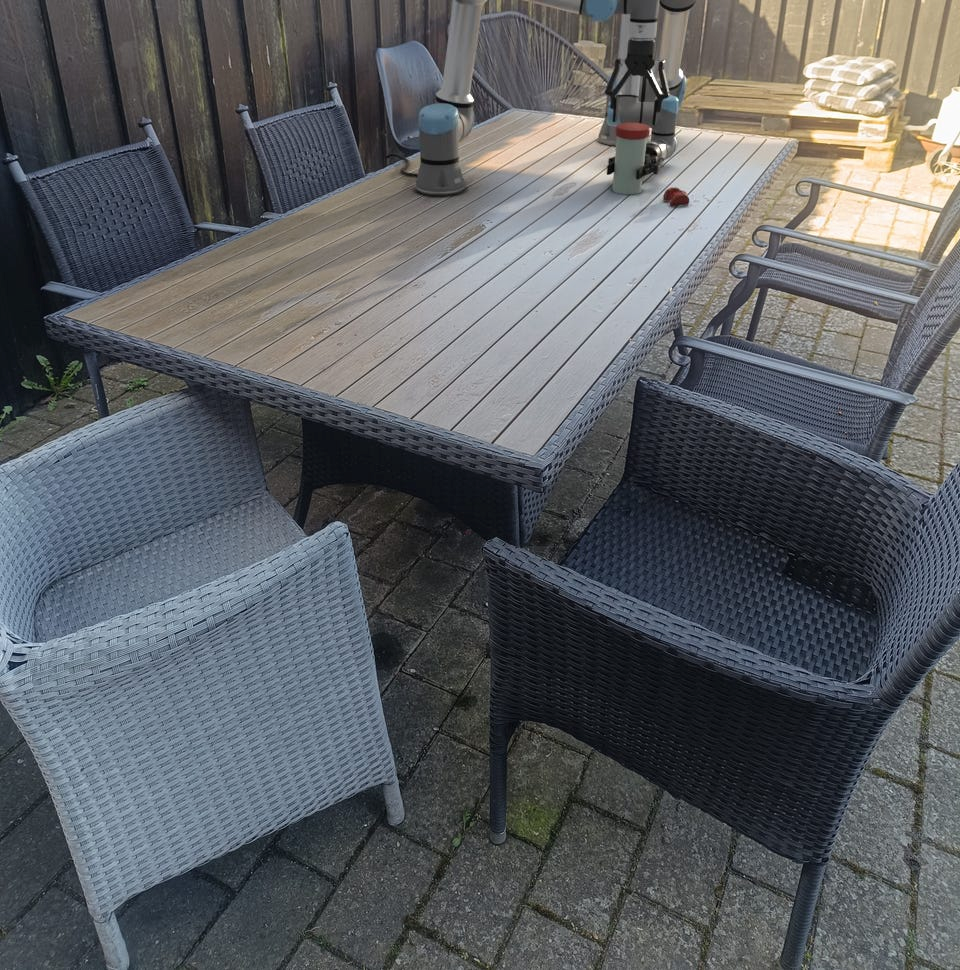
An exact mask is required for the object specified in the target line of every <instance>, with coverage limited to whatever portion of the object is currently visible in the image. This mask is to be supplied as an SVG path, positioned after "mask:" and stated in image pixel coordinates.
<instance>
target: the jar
mask: <svg viewBox="0 0 960 970" xmlns="http://www.w3.org/2000/svg"><path fill="white" fill-rule="evenodd" d="M646 143H648V137H647V138H644V139H624V138H620V137H617V143H616V146H615V155H614V157H615V165H614V172H613V178H612V187H611V188H612V189H611V190H612V192H613V193H616V194H619V195H636V194H640V193H641V192H642V187H643V186H642V185H643V177H644V176H643V177H642V178H640V179H639V180H638V179H636V176H637V170H638V169H639V168H641V167H642V166H644V160H645V151H646Z"/></svg>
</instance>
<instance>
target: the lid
mask: <svg viewBox="0 0 960 970" xmlns="http://www.w3.org/2000/svg"><path fill="white" fill-rule="evenodd" d="M615 134H616V136H617V137H620V138H624V139H644V138H647V139H648V138H649V136H650V134H651V128H650V127H649V126H648V125H645V124H641V123H622V124H618V125H617V126H616V132H615Z"/></svg>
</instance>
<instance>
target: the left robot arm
mask: <svg viewBox="0 0 960 970" xmlns="http://www.w3.org/2000/svg"><path fill="white" fill-rule="evenodd" d="M488 1H489V0H452V6H451V13H450V21H449V30H448V36H447V45H446V53H445V61H444V69H443V77H442V84H441V85H442V86H441V88H440V89H439V90H438V91H436V92H435V93H436V94H435V100H434V103H432V104H428V105H425V106H424V107H422V108H421V109H420V111H419V112H418V122H417V124H418V136H419V138H418V139H419V157H420V158H419V159H420V161H419V162H420V164H419V168H418V172H417V173H414V172H407V171H405V170H406V169H408V167H409V165H410V159H407V158H406V157H405V156H402V155H400V154H398V153H393V152H392V153H391V152H390V153H389V154H387V155H386V157H385V159H390V157H396V158H399V159H401V160H402V161H404V162H406V163H405V165H404V166H403V167H402V168H400V173H401V174H402V175H404V176H409V177H416V180H415V192H417V193H418V194H420V195H424V196H430V197H450V196H455V195H459V194H461V193H463V192H464V191H466V181H465V179H464V176H463V172H462V169H461V165H460V144H459V143H461V142H462V141H463V140H465V139H466V138H467V137H468V136H469V135H470V133H471V132H472V130H473V127H474V123H475V113H474V109H473V108H474V103H475V99H474V97H473V96H472V94H471V88H472V81H473V75H474V68H475V61H476V54H477V48H478V47H477V46H478V39H479V33H480V26H481V19H482V12H483V5H484V4H486V3H487V2H488ZM523 2H528V3H532V4H537V5H539V6H545V7H547V8H552V9H556V10H561V11H564V12H569V13H572V14H576V15H580V16H583V17H585V18H589V19H591V20H592V21H594V22H599V23H602V22H605V21H608V20H610V18H612V17H613V15H622V14H630V24H629V37H630V39H629V41H628V49H627V57H626V59H621V58H618V57H617V58H616V59H615V60H614V68H613V71H612V73H611V74H612V76H611V78H610V81H609V83H608V82H607V86H606V88H605V91H604V95H605V96H607V95H609V96H610V97H611V104H610V108H611V109H613V122H616V121H617V117H618V104H619V96H616V95H617V94H618V92H619V91H620V89H621V88H622V86H623V85H624V84H625V82H626V81H627V79H628V78H629V77H630V75H633V76H637V75H639V76H646V78H647V79H648V81H649V83H650V85H651V87H652V89H653V91H654V93H655V95H656V97H657V99H656V100H655V103H654V113H653V123H652V125H655V124H656V123H657V117H658V112H661V110H662V103H663V99H666V98H668V97H669V96H670V92H669V87H668V83H667V78H666V74H665V70H664V67H665V60H661V61H657V60H655V59H656V58H655V49H656V40H655V38H656V37H657V30H658V18H659V9H660V8H659V7H660V5H659V0H523ZM624 63H625V65H626V66H627V68H628V70H627V72H626V73H625V75H624V76H623V78H622V79H621V81H620V82H619V83H618V85H617V86H616V88H615V89H614V91H612V88H613V85H614V83H615V80H616V78H617V75H618V73H619V71H620V68H621V67H622V66H623V64H624ZM655 65H656V68H657V69H658V72H659V77H660V81H661V85H662V90H663V94H662V92H661V90H660V88H659V86H658V84H657V82H656V80H655V78H654V76H653V73H652V71H651V69H652V68H653V67H654V66H655Z"/></svg>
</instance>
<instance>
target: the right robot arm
mask: <svg viewBox="0 0 960 970" xmlns="http://www.w3.org/2000/svg"><path fill="white" fill-rule="evenodd" d="M696 3H697V0H659V7H660V8H661V15H660V22H659V29H658V37H657V45H656V52H655V58H654V59H655V60H657V61H661V60H665V67H664V70H665V74H666V78H667V83H668V87H669V92H670V96H669V97H668V98H666V99H663V103H662V110H661V112H658V117H657V123H656V124H655V125H652V123H653V113H654V103H655V100H656V99H657V97H656V95H655V93H654V91H653V89H652V87H651V85H650V83H649V81H648V79H647V78H646V76H639V75H637V76H633V75H630V77H629V78H628V79H627V81H626V82H625V84H624V85H623V86H622V88H621V89H620V91H619V92H618V94H617V95H616V96H619V104H618V117H617V121H616V122H613V109H611V108H610V104H611V97H610V96H609V95H606V102H605V114H604V120H603V122H602V125H601V127H600V129H599V132H598V135H597V141H598V142H599V143H601V144H603V145H607V146H614V147H616V143H617V136H616V134H615V132H616V126H617V125H618V124H622V123H641V124H645V125H648V126H649V127H650V129H651V130H650V140H649V141H647V142H646V151H645V160H644V166H642V167H641V168H639V169H638V170H637V176H636V179H638V180H639V179H640V178H642V177H645V176H647V175H651V174H652V173H653V175H658V174H659V173H660V170H661V169H662V168H664V166H665V161H666V160H668V159H670V158H671V157H673V155H674V154H675V153H676V151H677V149H678V140H677V138H676V129H677V128H676V127H677V121H678V114H679V110H680V109H681V107H682V104H683V101H684V98H685V92H686V88H687V77H686V76H685V75H684V73H683V70H682V69H681V63H682V59H683V52H684V46H685V40H686V33H687V29H688V22H689V17H690V11H691V10H692V9H693V8H694V7H695V6H696ZM620 18H621V19H620V20H621V21H620V30H619V31H620V32H619V41H618V53H617V54H618V55H617V58H621V59H626V57H627V49H628V41H629V39H630V37H629V24H630V14H621V17H620ZM627 70H628V68H627V66H626V65H625V63H624V64H623V66H622V67H621V68H620V71H619V73H618V75H617V78H616V80H615V83H614V85H613V88H612V91H614V89H615V88H616V86H617V85H618V83H619V82H620V81H621V79H622V78H623V76H624V75H625V73H626V72H627ZM651 71H652V73H653V76H654V78H655V80H656V82H657V84H658V86H659V88H660V90H661V92H662V94H663V90H662V85H661V81H660V77H659V72H658V69H657V68H656V65H654V66H653V67H652V68H651ZM611 76H612V73H611V74H610V75H609V77H608V80H607V84H608V83H609V81H610V78H611ZM607 160H608V161H607V166H606V167H607V168H606V175H607V176H610V175H611V174H614V165H615V156H612V157H609V158H608V159H607ZM642 179H643V178H642Z"/></svg>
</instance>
